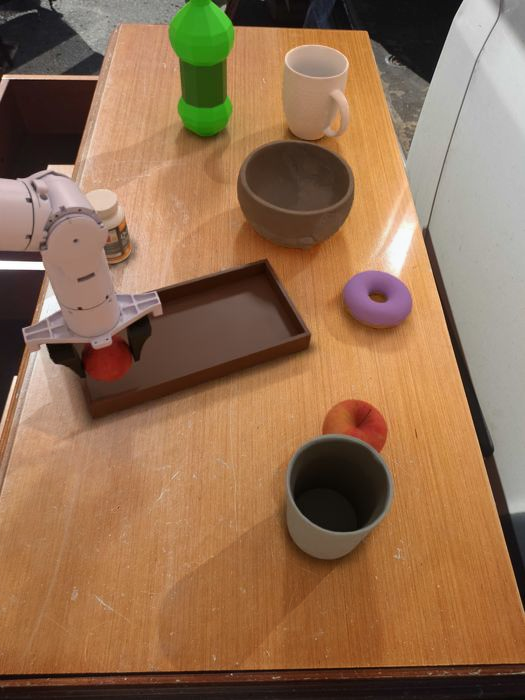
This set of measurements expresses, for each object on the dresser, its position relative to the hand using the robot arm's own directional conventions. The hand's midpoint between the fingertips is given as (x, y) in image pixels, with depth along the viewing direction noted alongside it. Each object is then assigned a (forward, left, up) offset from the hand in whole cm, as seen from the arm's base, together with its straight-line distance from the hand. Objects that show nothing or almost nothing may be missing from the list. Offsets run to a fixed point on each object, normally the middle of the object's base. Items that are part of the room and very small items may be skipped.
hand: (108, 363), depth 67 cm
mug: (+48, +40, -5) cm, 62 cm away
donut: (+38, -1, -5) cm, 38 cm away
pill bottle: (+6, +23, -5) cm, 24 cm away
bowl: (+34, +19, -5) cm, 39 cm away
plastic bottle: (+30, +48, -5) cm, 57 cm away
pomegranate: (0, 0, -3) cm, 3 cm away
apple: (+24, -19, -5) cm, 31 cm away
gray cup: (+17, -26, -5) cm, 31 cm away
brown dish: (+11, +3, -5) cm, 12 cm away
